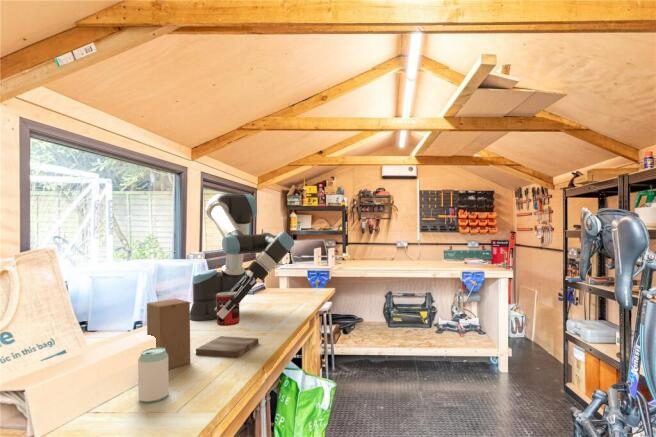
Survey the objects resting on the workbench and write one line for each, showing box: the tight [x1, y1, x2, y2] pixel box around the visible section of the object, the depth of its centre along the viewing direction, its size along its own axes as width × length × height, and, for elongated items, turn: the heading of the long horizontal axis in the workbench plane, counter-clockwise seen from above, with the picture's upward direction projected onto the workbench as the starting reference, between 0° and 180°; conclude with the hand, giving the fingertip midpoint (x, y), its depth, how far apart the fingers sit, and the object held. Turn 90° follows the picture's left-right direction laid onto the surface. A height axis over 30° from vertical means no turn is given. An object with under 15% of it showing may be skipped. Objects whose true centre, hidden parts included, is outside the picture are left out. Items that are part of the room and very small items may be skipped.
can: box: [137, 348, 170, 404], centre depth 96 cm, size 7×7×12 cm
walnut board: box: [195, 335, 259, 359], centre depth 135 cm, size 16×16×2 cm
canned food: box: [216, 292, 241, 327], centre depth 136 cm, size 8×8×11 cm
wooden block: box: [146, 298, 191, 370], centre depth 121 cm, size 10×10×20 cm
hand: (218, 314), depth 134 cm, fingers closed on canned food, 8 cm apart
